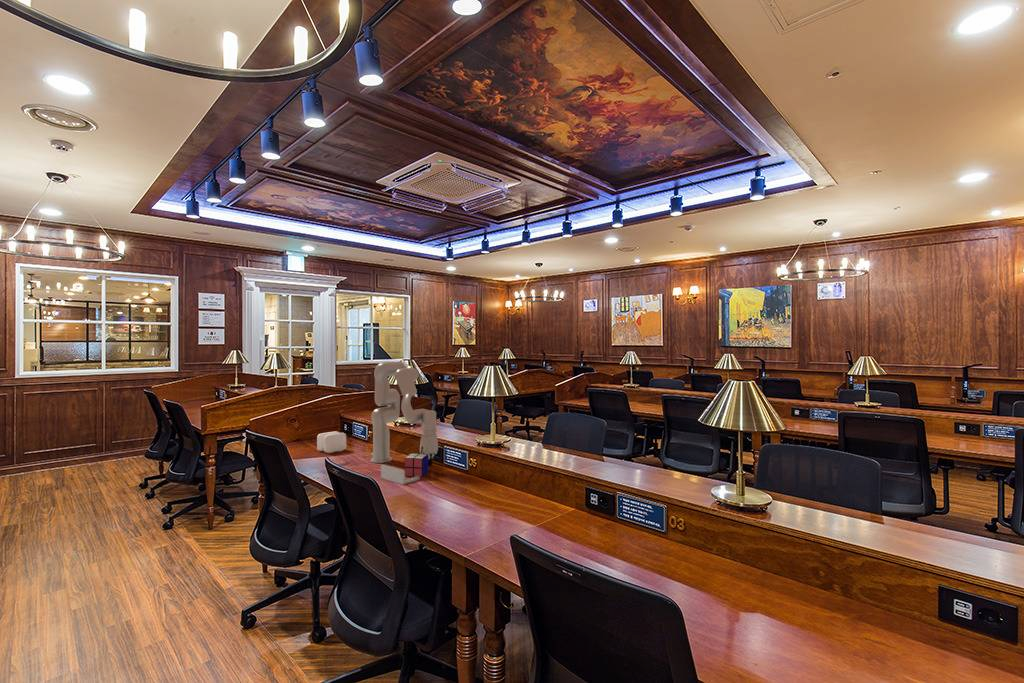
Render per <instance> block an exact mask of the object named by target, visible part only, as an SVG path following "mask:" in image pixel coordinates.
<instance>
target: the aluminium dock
mask: <svg viewBox="0 0 1024 683" xmlns="http://www.w3.org/2000/svg"><path fill="white" fill-rule="evenodd" d="M380 478H381V479H384V480H385V481H386V480H387V481H390V482H394V483H397V484H400V485H403V486H404V485H406V484H410V483H414V482H416V481H420V479H421V477H420V476H419V475H418V476H415V477H414V476H413V477H408V478H406V477H405V469H403V468H397V467H394V466H391V465H388V464H383V463H381V464H380Z"/></svg>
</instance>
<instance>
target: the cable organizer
mask: <svg viewBox="0 0 1024 683" xmlns="http://www.w3.org/2000/svg"><path fill="white" fill-rule="evenodd" d="M346 448H347V434H346V433H344V432H339V431H337V430H336V431H335V430H334V431H329V432H323V433H319V434H317V436H316V449H317V451H320V452H321V451H322V452H325V453H327V454H332V453H334V452H343V451H344V450H346Z"/></svg>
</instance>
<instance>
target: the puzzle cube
mask: <svg viewBox="0 0 1024 683" xmlns="http://www.w3.org/2000/svg"><path fill="white" fill-rule="evenodd" d="M404 470H405V478H406V477H408V478H411V477H415V476H418V475H419V476H420V478H423V477H424V476H426V475H427V473H428V472H429V466H428V454H423V455H422V454H421V453H410V454H408V455H407V456H406V457H404Z"/></svg>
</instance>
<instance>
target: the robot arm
mask: <svg viewBox="0 0 1024 683" xmlns="http://www.w3.org/2000/svg"><path fill="white" fill-rule="evenodd" d="M373 376H374V403H375V404H376V405H377V406H378V408H375V409H374V410H373V411H372V412H371V414H370V415H371V416H370V417H371V418H370V419H371V423H372V452H371V453H370V456H372V457H371V458H370V462H371V463H374V464H383V463H385V464H386V463H388V462H391V461H393V457H392V456H390V439H391V438H390V437H391V436H390V428H389V426H388V423H392V422H393V423H394V422H396V421H397V420H399V417H400V410H401V412H402V415H403V417H404V419H405V421H406V422H407V423H408V424H410V425H415V424H419V423H422V435H421V436H420V441H419V442H420V444H419V454H422V455H423V454H428V467H432V466H433V459H434V457H435V455H437V454H438V450H439V440H438V436H437V432H438V430H437V411H435V410H433V409H431V410H430V409H425V408H419V409H417V408H416V409H413V407H412V404H411V399H412V397H414V396H415V395H416V394H417V392H418V390H417V388H416V385H415V382H416V381H417V380H418V378H419V373H418V370H417V369H416V368H415V367H413V366H412V365H409V364H406V363H405V362H402V361H386V362H385V361H384V362H380V363H379V364H377V365H376V366H375V368H374V372H373ZM388 377H394V378H395V381H396V383H397V385H398V387H399V390H400V392H401V394H402V395H400V393H399V391H398V389H395V388H391V387H390V385H391V383H390V380H389V378H388ZM401 396H402V399H401ZM400 402H401V403H400ZM382 406H383V407H382ZM384 406H385V407H384Z"/></svg>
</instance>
